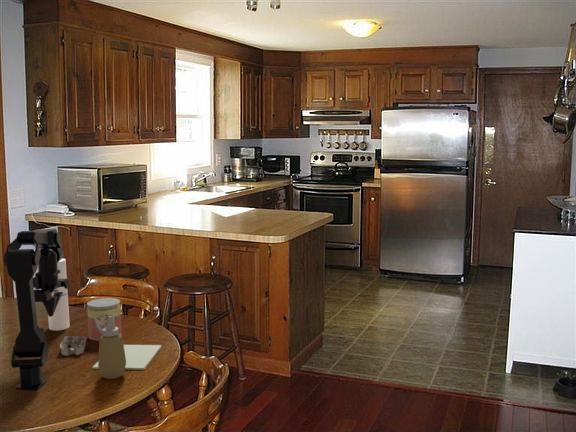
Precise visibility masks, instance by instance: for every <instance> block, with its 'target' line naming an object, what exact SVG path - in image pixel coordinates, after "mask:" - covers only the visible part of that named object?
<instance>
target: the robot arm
mask: <svg viewBox="0 0 576 432" xmlns="http://www.w3.org/2000/svg"><path fill="white" fill-rule="evenodd" d="M22 246H33V247H34V248H35V250H34V249H33V248H24V249H23V248H21V247H22ZM63 247H64V246H63V243H62V239H61V235H60V232H58V230H57V229H56V228H41V229H40V228H37V229H34V230H21V231H18V232H17V234H16V238H15V239H14V240H12V241H11V242H10V243H9V244H7V247H6V249H5V253H4V256H3V263H4V266H5V269H6V273H7V275H8V277H10V279H11V280H12V281H13V282H14V288H15V296H16V304H17V313H18V322H19V323H18V324H19V330H20V331H19V332H18V334H17V336H16V338H15V341H14V346H13V348H12V354H11V360H10V362H11V364H10V365H11V367H12V369H15V368H19V370H18V371H19V382H20V383H19V384H17V385H16V386H15V390H32V391H33V390H35V391H36V390H38V389H40V388H41V387H42V386H43V385H44V384H46V382H47V381H48V379H47V378H42V368H43V367H44V366H45V365H46V363H47V362H48V346H49V345H48V341H47V339H46V334H45V329H44V328H43V327H41V328H40V327H39V326H38V319H37V318H38V317H37V310H36V309H37V308H36V307H37V306H36V303H42V304H43V305H44V308H45V310H46V313H47V316H48V315H49V316H53V315H54V312H55V310H56V307H57V305H58V302H59V300H60V298H61V295H62V294H63V292H59V290H57V289H58V288H59V287H64V288H65V289H67V290H68V289H69V288H70V287H71V281H70V280H69V279H68V278H67V279H58V274H59V273H60V270H58V268H57V263H58V262H59V261H60V260H61V259H62V258H63V259H64V256H65V250H64V248H63ZM37 270H38V271H37ZM25 358H26V359H25ZM27 358H28V359H27Z"/></svg>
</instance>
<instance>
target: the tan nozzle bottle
mask: <svg viewBox="0 0 576 432" xmlns="http://www.w3.org/2000/svg"><path fill="white" fill-rule="evenodd" d="M102 333H103V336H101V337H100V341H99V343H98V361H97V362H98V367H99V369H98V370H99V371H100V374H101V376H102V378H104V379H107V380H116V379H118V378H121V377H123V375H124V373H125V370H126V369H125V366H126V357H125V351H124V345H125V344H124V340H123V335H120V334H119V328H118V327H115V326H114V322H113V319H112V316H109V317H108V319H107V325H106V328H104V329H102Z"/></svg>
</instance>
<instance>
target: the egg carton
mask: <svg viewBox="0 0 576 432" xmlns="http://www.w3.org/2000/svg"><path fill="white" fill-rule="evenodd" d="M86 341H87V337H86V336H84V337H81V335H80V336H73V335H72V336H68V335H65V336H64V337H63V340H62V341H61V342H60V344H59V348H60V350H61V355H62V356H66V357H67V356H70V355H76V356H79V355H81V354H83V353H84V350H85V347H86V346H87V344H86ZM69 346H70V347H69Z"/></svg>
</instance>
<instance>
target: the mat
mask: <svg viewBox="0 0 576 432" xmlns="http://www.w3.org/2000/svg"><path fill="white" fill-rule="evenodd" d="M161 348H162V345H161V344H160V345H159V344H124V351H125V357H126V366H125V369H124V370H134V371H135V370H136V371H138V370H140V371H143V370H145V369H147V367H148V365H150V363H151V362H152V360H153V359H154V358H155V357H156V355H157V354H158V352H159V351H160V350H161ZM92 369H93V370H100V369H99V367H98V361H97V362H96V363H95V364H94V365H93V366H92Z"/></svg>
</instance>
